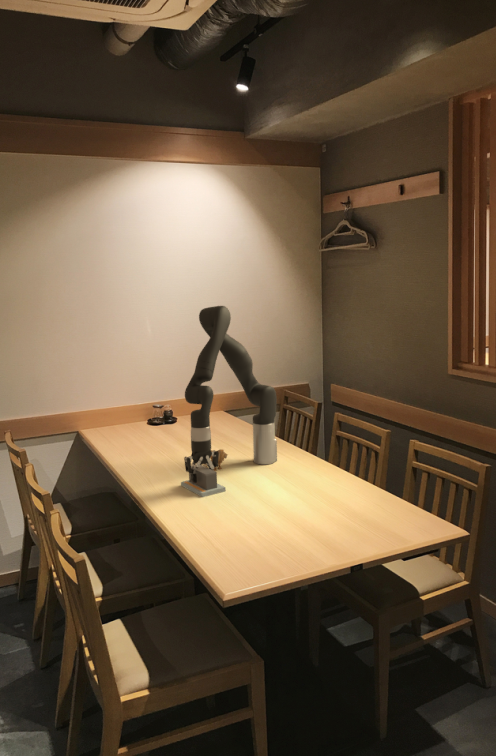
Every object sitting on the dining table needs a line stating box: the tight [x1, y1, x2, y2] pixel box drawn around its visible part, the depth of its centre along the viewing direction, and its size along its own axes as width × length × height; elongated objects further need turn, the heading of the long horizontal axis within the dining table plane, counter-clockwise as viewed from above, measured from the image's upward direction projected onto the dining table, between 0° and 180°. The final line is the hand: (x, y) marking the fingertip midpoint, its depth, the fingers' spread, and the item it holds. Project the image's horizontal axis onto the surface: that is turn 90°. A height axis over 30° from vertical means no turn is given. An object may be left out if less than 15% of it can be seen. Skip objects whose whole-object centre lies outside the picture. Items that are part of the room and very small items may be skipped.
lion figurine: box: [206, 449, 229, 472], centre depth 269 cm, size 15×5×9 cm, turn 36°
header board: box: [180, 479, 226, 498], centre depth 244 cm, size 10×16×6 cm, turn 35°
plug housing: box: [188, 464, 218, 490], centre depth 244 cm, size 5×13×6 cm, turn 35°
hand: (202, 480), depth 244 cm, fingers open, 6 cm apart
